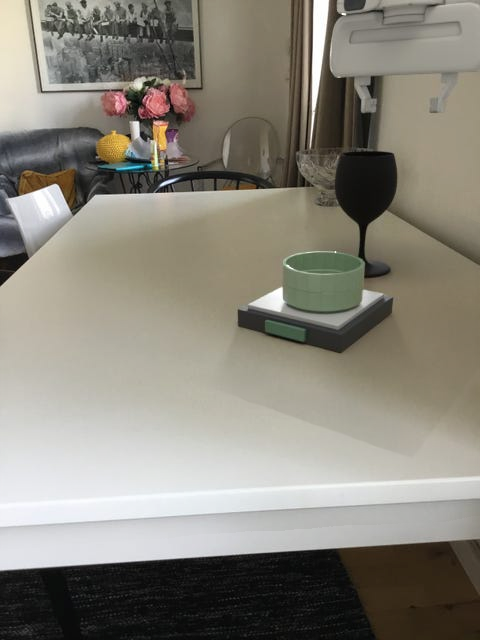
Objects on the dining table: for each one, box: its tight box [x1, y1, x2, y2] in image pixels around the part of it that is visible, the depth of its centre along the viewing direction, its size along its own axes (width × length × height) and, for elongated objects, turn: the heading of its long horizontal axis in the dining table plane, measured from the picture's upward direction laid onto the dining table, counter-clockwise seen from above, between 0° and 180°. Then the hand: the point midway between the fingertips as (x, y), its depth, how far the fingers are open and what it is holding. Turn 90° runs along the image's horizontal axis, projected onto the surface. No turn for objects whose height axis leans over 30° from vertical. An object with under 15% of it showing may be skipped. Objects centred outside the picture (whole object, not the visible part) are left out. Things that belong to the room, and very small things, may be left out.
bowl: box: [281, 250, 365, 312], centre depth 78 cm, size 11×11×6 cm
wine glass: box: [334, 150, 398, 279], centre depth 98 cm, size 10×10×20 cm
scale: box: [237, 286, 394, 354], centre depth 80 cm, size 16×17×3 cm
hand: (401, 112), depth 75 cm, fingers open, 8 cm apart
